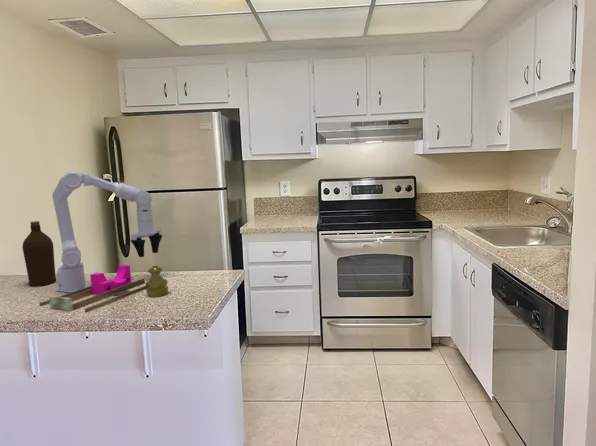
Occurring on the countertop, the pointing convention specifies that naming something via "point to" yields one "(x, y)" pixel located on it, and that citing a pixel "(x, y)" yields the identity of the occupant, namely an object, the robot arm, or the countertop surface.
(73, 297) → the wooden slat rack
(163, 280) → the gold tapered round piece
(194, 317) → the countertop surface
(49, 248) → the olive oil
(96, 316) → the countertop surface
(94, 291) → the magenta curved bracket
